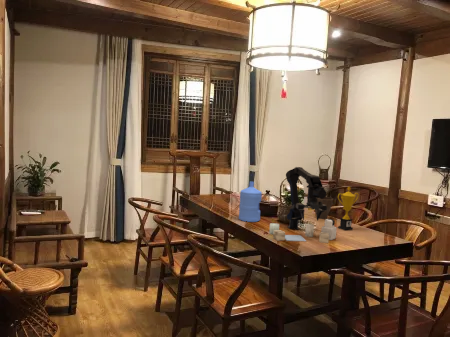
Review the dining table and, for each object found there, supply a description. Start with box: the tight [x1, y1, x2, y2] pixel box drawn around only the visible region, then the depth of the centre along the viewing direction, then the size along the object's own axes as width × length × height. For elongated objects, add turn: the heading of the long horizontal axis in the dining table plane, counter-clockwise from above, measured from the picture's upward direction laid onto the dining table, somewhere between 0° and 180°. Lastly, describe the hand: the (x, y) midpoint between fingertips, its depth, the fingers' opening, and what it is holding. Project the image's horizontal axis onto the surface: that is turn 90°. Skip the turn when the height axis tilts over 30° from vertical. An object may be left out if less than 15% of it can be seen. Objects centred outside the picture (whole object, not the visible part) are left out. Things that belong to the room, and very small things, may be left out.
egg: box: [304, 223, 315, 238], centre depth 237 cm, size 5×5×7 cm
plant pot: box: [314, 196, 334, 220], centre depth 293 cm, size 15×15×16 cm
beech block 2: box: [318, 231, 330, 244], centre depth 226 cm, size 5×5×5 cm
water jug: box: [238, 181, 263, 223], centre depth 271 cm, size 16×16×28 cm
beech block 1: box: [272, 229, 286, 242], centre depth 225 cm, size 5×5×5 cm
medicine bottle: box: [320, 218, 338, 241], centre depth 234 cm, size 7×7×12 cm
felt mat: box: [285, 234, 307, 242], centre depth 229 cm, size 12×12×1 cm
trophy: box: [337, 186, 360, 231], centre depth 260 cm, size 19×10×30 cm, turn 116°
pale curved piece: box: [268, 222, 280, 236], centre depth 238 cm, size 6×6×6 cm
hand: (310, 220), depth 237 cm, fingers open, 9 cm apart
